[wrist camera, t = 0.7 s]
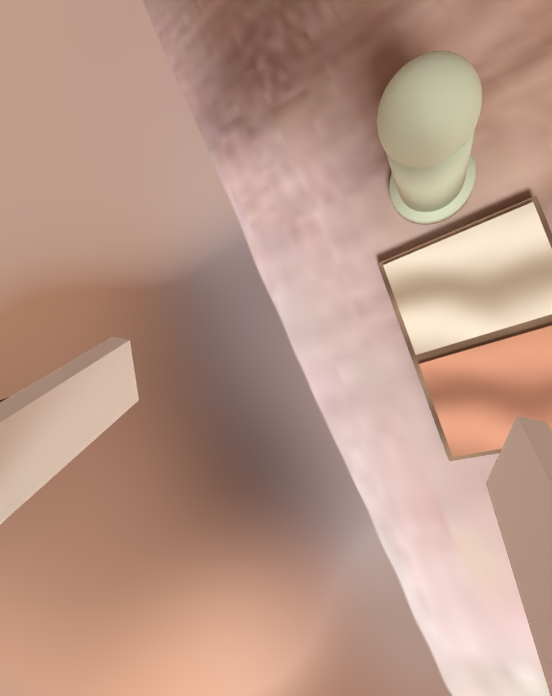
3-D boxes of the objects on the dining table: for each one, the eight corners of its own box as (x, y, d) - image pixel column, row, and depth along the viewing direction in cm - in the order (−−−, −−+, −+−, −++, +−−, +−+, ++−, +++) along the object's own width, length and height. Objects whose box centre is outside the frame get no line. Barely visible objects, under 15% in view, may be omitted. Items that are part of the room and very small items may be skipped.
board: (379, 264, 32) (376, 262, 31) (533, 199, 27) (537, 193, 26) (448, 456, 31) (449, 462, 30) (622, 426, 26) (632, 431, 25)
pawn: (412, 136, 30) (392, 0, 17) (490, 155, 28) (535, 17, 15) (378, 211, 31) (336, 139, 19) (449, 235, 29) (458, 172, 16)
